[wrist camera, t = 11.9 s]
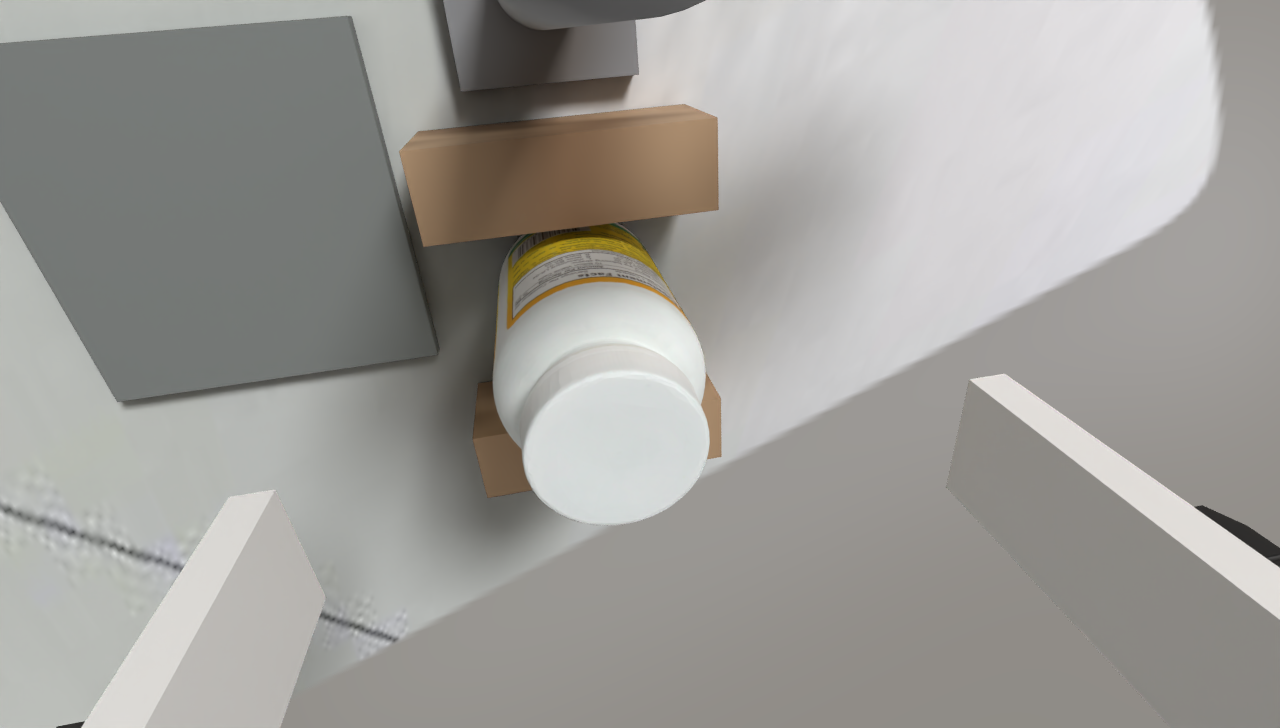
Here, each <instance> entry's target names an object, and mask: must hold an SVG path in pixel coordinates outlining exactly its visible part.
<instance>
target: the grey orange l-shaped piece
mask: <svg viewBox="0 0 1280 728" xmlns="http://www.w3.org/2000/svg"><path fill="white" fill-rule="evenodd" d="M703 1H705V0H498V2H499V4H500V6H501V7H502V8H503V10H504V11H505V12H506V13H507V14H508V16H509V17H511V18H512V19H513V20H514V21H515V22H517V23H519V24H520V25H522V26H524V27H526V28H530V29H534V30H551V29H560V28H569V27H577V26H586V25H595V24H603V23H612V22H621V21H630V20H638V19H646V18H654V17H662V16H665V15H669V14H672V13H676V12H679V11H683V10H685V9H688V8H690V7H692V6H694V5H696V4H699V3H701V2H703Z"/></svg>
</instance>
